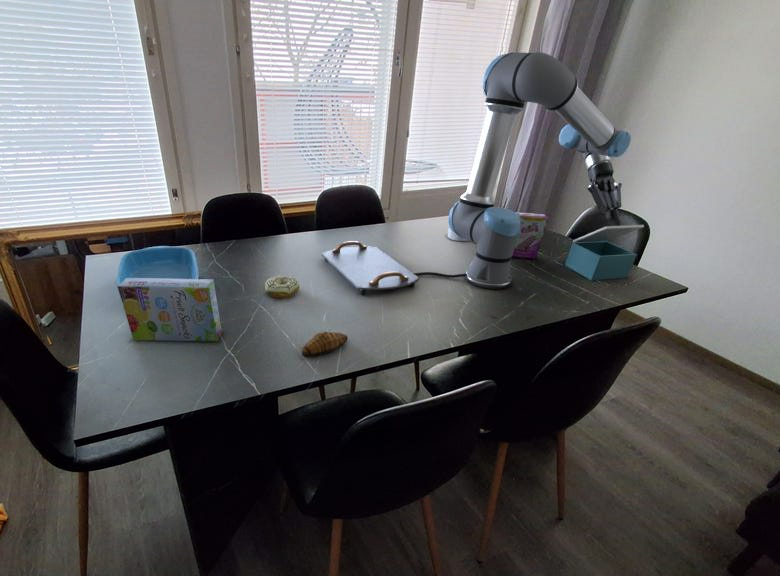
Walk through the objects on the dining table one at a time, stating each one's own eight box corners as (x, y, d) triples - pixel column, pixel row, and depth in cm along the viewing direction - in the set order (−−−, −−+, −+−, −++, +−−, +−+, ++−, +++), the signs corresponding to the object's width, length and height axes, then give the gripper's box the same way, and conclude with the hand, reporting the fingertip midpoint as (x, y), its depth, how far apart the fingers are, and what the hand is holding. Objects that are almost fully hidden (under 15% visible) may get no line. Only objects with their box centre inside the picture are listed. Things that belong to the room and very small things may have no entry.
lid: (644, 227, 144) (643, 224, 144) (606, 228, 140) (606, 226, 140) (607, 240, 159) (607, 238, 159) (572, 242, 155) (572, 240, 155)
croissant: (310, 364, 99) (310, 346, 96) (295, 351, 103) (294, 334, 101) (354, 347, 106) (355, 330, 103) (338, 335, 110) (339, 319, 108)
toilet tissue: (443, 234, 187) (447, 211, 181) (468, 233, 189) (473, 210, 183) (452, 241, 178) (456, 218, 173) (478, 241, 180) (483, 217, 175)
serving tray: (317, 257, 157) (317, 241, 153) (371, 250, 165) (373, 235, 162) (361, 300, 128) (362, 282, 125) (425, 290, 136) (427, 272, 133)
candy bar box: (507, 257, 165) (518, 215, 156) (505, 253, 169) (515, 211, 160) (536, 259, 164) (549, 217, 155) (533, 255, 169) (545, 213, 159)
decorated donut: (261, 297, 127) (259, 286, 125) (271, 283, 136) (270, 272, 134) (294, 301, 126) (293, 289, 124) (302, 286, 135) (302, 275, 133)
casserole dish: (205, 308, 120) (201, 285, 116) (119, 319, 113) (112, 295, 109) (196, 262, 148) (192, 242, 144) (127, 269, 141) (121, 248, 137)
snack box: (222, 331, 110) (214, 278, 101) (217, 342, 105) (208, 288, 97) (140, 330, 109) (125, 276, 100) (132, 341, 104) (115, 286, 96)
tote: (626, 277, 152) (637, 254, 147) (591, 280, 149) (600, 256, 144) (598, 262, 164) (607, 240, 159) (564, 265, 161) (572, 242, 156)
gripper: (606, 173, 155) (622, 232, 151) (576, 174, 152) (592, 233, 148) (622, 160, 148) (639, 222, 144) (592, 160, 145) (608, 223, 141)
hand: (615, 227), depth 146 cm, fingers closed
